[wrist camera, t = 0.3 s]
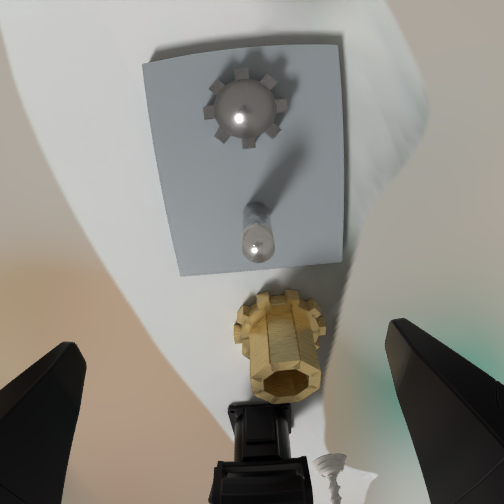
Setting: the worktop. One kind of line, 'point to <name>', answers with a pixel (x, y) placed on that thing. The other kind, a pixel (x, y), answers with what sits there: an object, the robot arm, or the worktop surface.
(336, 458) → the chalice
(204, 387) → the worktop surface
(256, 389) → the planet gear
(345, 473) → the worktop surface
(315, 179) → the plate
